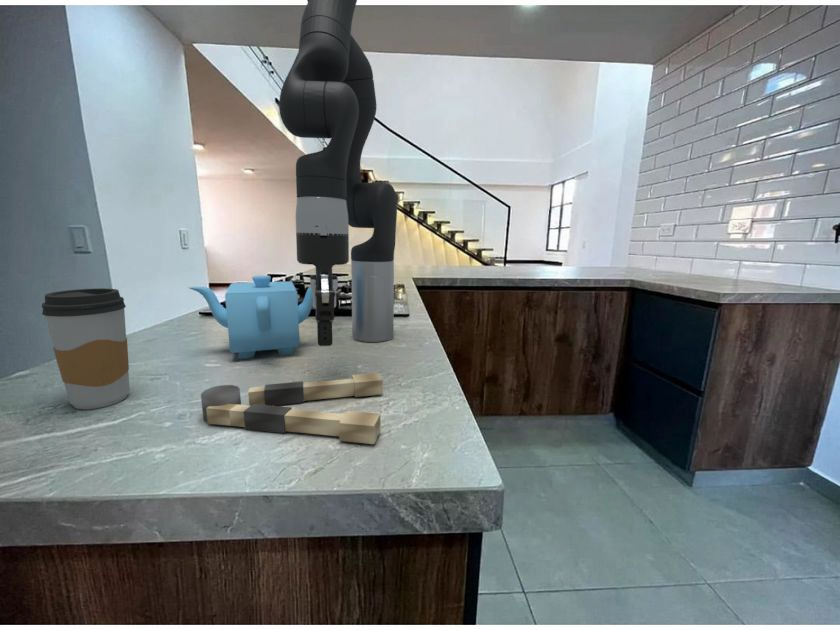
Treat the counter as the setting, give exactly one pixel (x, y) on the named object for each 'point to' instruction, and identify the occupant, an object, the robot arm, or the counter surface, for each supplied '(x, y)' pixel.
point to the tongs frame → (286, 417)
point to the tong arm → (316, 390)
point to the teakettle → (260, 315)
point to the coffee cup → (89, 345)
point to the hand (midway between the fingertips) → (325, 344)
